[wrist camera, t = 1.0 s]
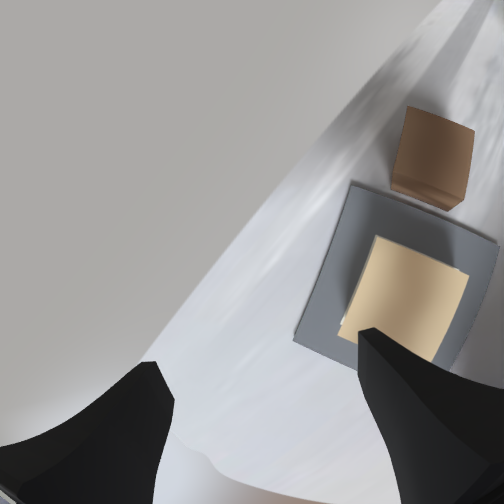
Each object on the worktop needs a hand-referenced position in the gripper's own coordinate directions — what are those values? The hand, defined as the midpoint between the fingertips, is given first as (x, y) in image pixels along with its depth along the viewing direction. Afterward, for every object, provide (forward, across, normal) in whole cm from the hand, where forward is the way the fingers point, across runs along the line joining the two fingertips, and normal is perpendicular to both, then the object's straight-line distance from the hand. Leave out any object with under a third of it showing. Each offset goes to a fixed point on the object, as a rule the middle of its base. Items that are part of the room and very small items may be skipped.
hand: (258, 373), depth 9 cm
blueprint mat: (+8, -9, +3) cm, 13 cm away
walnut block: (+10, -13, -5) cm, 17 cm away
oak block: (+8, -9, +3) cm, 12 cm away
